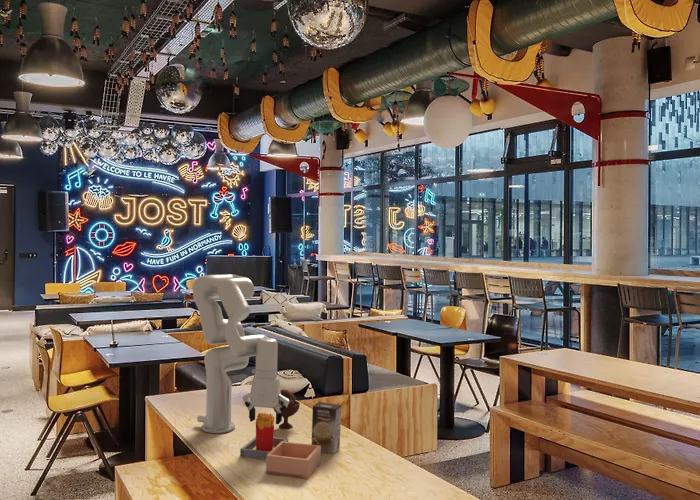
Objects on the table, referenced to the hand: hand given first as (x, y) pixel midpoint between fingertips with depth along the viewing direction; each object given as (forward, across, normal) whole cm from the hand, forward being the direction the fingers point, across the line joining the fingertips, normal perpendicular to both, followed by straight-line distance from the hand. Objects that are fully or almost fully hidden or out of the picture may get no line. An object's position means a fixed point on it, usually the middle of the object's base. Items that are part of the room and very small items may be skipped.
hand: (265, 421), depth 221 cm
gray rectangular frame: (+10, 0, 0) cm, 10 cm away
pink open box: (+10, +15, -12) cm, 22 cm away
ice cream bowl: (+10, -2, +27) cm, 29 cm away
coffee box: (+11, +20, +8) cm, 24 cm away
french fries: (+10, 0, 0) cm, 10 cm away
